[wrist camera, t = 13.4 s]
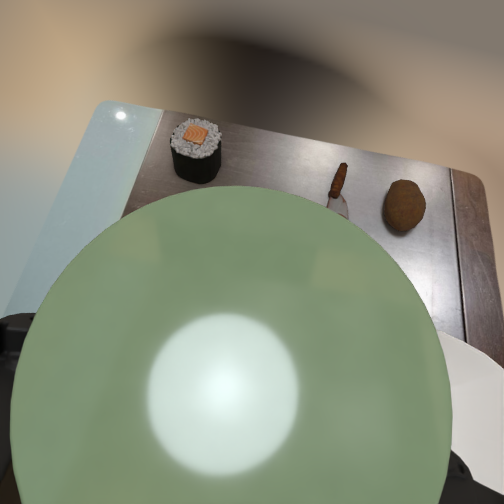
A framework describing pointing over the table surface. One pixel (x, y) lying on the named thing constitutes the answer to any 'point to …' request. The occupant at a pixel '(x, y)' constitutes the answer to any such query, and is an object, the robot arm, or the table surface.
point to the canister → (231, 364)
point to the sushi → (196, 150)
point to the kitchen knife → (338, 192)
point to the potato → (404, 205)
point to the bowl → (476, 410)
